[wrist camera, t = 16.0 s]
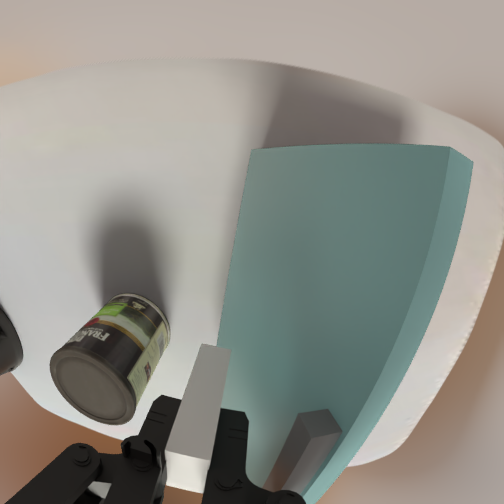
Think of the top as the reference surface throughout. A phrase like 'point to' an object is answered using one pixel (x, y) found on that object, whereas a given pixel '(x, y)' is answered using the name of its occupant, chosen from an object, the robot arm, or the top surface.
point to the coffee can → (112, 359)
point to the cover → (332, 296)
